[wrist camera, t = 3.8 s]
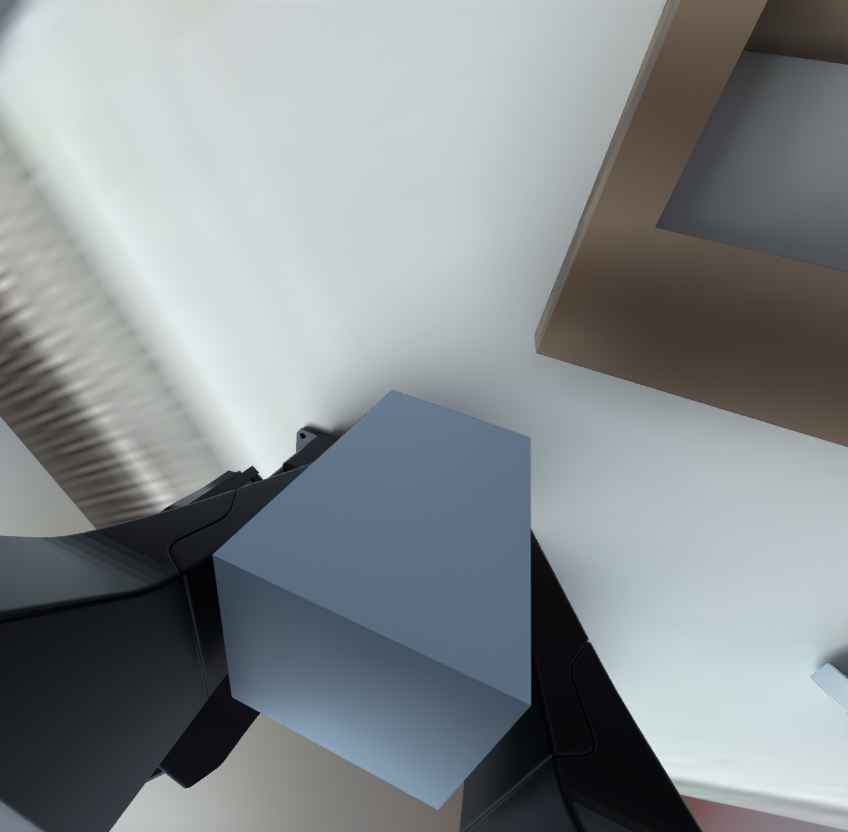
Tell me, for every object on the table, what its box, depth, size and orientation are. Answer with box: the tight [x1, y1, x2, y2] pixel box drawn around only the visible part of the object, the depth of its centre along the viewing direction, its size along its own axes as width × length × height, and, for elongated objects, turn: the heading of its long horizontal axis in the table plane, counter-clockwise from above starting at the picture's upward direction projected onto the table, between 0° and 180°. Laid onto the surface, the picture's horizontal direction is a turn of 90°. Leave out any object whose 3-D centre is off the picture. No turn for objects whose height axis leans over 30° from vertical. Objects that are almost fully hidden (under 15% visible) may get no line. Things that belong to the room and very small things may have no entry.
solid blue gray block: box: [213, 390, 531, 809], centre depth 7 cm, size 4×4×6 cm
